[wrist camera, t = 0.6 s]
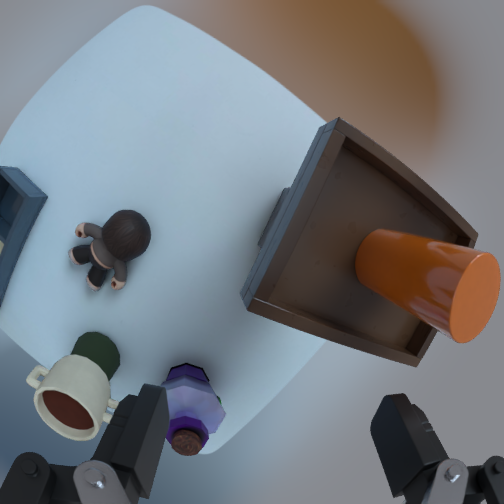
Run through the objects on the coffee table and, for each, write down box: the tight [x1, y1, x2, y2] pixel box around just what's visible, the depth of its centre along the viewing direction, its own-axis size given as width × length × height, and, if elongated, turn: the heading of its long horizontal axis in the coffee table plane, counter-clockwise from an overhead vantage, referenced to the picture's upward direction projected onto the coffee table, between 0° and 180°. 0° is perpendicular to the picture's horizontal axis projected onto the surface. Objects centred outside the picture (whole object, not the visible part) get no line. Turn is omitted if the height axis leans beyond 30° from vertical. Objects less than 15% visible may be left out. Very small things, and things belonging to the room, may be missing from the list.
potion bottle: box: [161, 363, 226, 456], centre depth 28 cm, size 9×9×12 cm
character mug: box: [26, 332, 120, 441], centre depth 25 cm, size 11×7×13 cm, turn 66°
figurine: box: [68, 210, 151, 291], centre depth 28 cm, size 8×5×10 cm
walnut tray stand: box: [240, 117, 478, 367], centre depth 24 cm, size 14×11×18 cm
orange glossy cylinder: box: [355, 228, 501, 343], centre depth 13 cm, size 4×4×8 cm
